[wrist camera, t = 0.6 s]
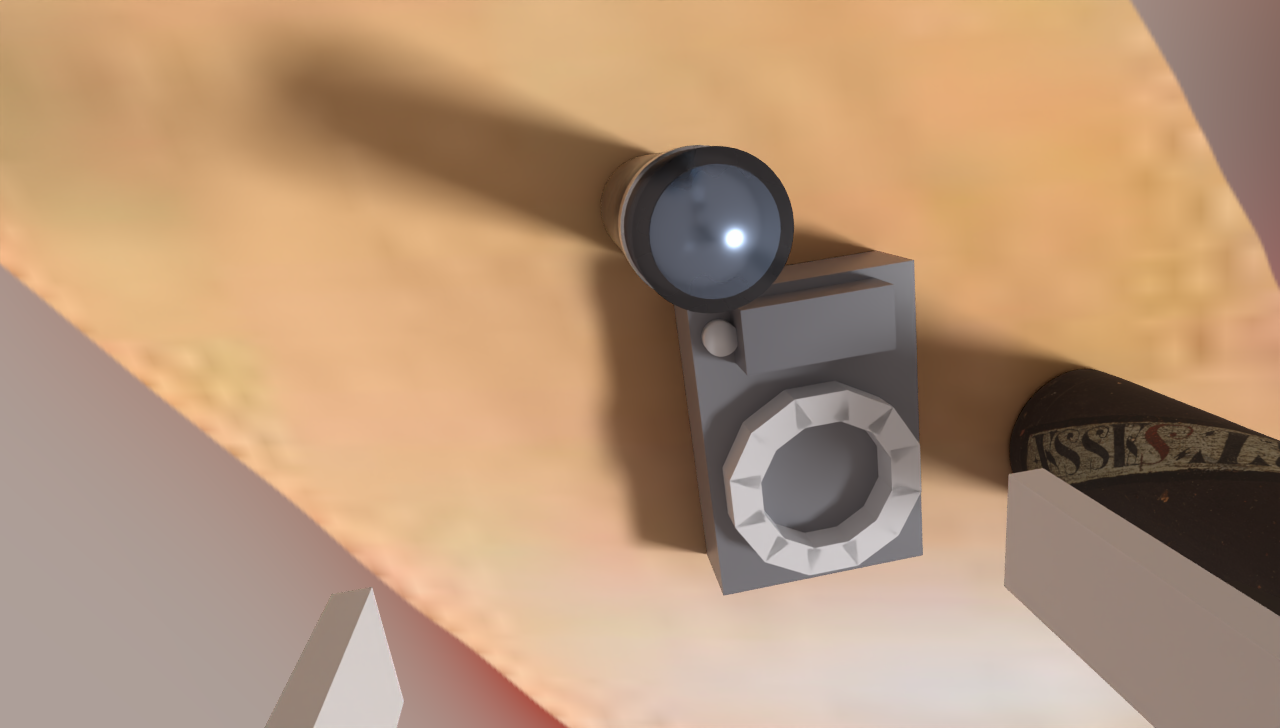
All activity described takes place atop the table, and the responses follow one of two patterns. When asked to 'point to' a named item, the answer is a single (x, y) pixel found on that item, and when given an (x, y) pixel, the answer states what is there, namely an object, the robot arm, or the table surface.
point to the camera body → (807, 422)
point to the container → (1161, 470)
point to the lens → (700, 225)
